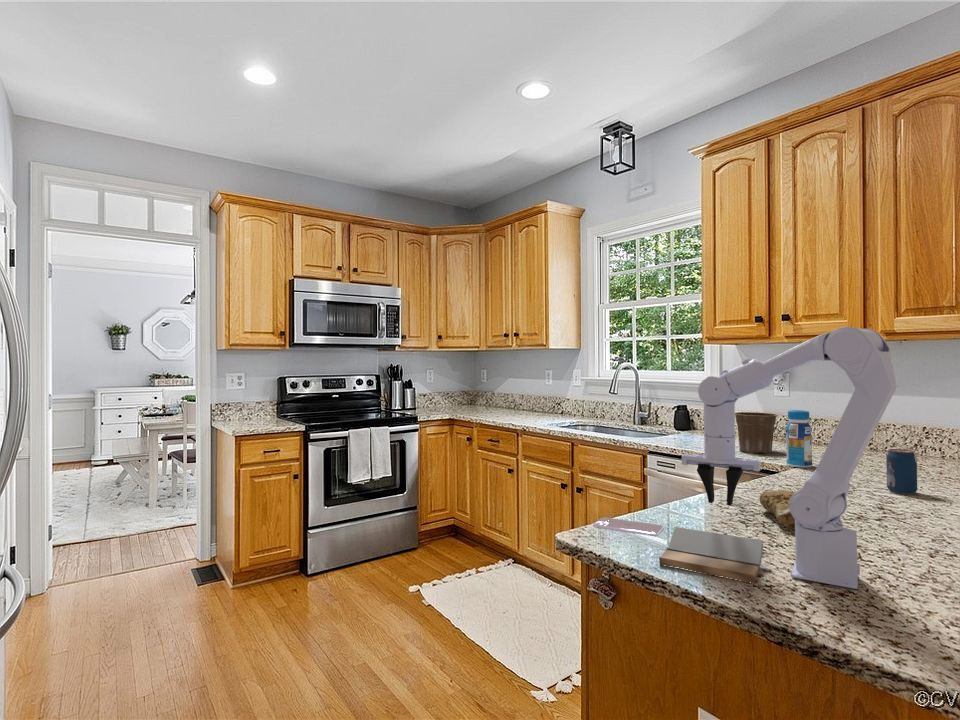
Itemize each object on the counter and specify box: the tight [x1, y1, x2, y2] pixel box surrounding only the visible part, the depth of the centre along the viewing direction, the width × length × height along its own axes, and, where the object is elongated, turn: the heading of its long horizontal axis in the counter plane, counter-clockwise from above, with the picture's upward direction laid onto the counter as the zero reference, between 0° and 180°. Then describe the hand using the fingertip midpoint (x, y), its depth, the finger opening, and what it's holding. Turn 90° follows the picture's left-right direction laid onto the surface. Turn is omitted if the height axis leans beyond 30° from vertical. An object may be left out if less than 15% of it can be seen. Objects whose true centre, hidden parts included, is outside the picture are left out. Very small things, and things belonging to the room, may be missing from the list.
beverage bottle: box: [785, 409, 813, 469], centre depth 196 cm, size 8×8×20 cm
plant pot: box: [735, 411, 778, 454], centre depth 228 cm, size 16×16×16 cm
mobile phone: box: [592, 516, 665, 537], centre depth 125 cm, size 8×1×15 cm
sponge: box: [759, 489, 797, 530], centre depth 128 cm, size 13×8×20 cm
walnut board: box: [658, 547, 760, 584], centre depth 98 cm, size 16×6×2 cm, turn 56°
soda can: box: [886, 448, 918, 496], centre depth 155 cm, size 7×7×12 cm
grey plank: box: [667, 526, 764, 571], centre depth 104 cm, size 16×6×2 cm, turn 56°
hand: (720, 503), depth 109 cm, fingers open, 3 cm apart
